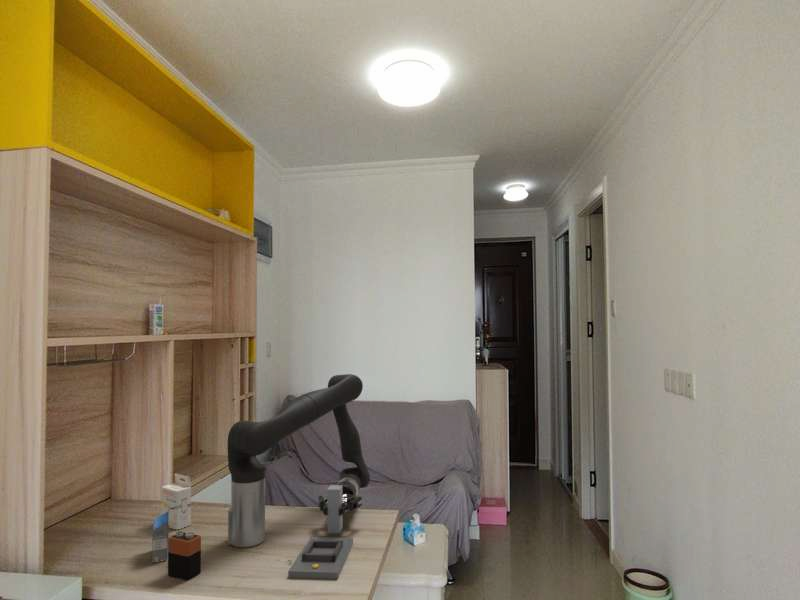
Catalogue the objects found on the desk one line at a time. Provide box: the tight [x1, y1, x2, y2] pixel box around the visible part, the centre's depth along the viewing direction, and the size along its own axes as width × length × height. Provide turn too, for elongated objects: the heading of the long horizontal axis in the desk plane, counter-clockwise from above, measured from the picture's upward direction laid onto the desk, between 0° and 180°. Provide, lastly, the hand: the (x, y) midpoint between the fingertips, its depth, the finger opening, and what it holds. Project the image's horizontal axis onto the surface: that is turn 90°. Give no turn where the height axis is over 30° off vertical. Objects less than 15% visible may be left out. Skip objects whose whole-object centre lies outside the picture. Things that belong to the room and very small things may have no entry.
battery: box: [167, 530, 202, 581], centre depth 123 cm, size 4×7×10 cm, turn 66°
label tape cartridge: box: [151, 502, 170, 563], centre depth 134 cm, size 9×4×12 cm, turn 23°
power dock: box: [287, 536, 354, 580], centre depth 130 cm, size 12×20×3 cm, turn 175°
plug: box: [326, 484, 344, 534], centre depth 145 cm, size 4×4×12 cm
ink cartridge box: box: [160, 473, 192, 531], centre depth 155 cm, size 9×5×15 cm, turn 58°
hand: (333, 512), depth 142 cm, fingers closed on plug, 3 cm apart
